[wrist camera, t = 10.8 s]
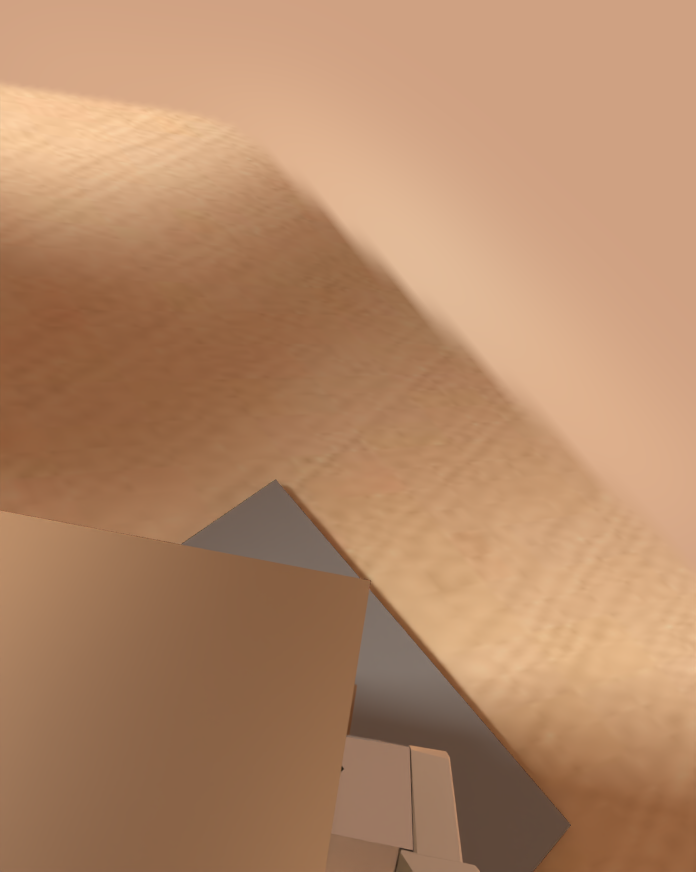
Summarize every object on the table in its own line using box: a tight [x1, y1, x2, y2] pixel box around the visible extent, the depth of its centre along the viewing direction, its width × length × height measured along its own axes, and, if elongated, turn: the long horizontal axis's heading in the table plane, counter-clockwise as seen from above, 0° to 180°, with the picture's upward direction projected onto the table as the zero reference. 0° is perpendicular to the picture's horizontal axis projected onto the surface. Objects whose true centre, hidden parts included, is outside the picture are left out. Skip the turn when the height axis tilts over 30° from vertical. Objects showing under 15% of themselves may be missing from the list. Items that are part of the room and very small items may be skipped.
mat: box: [181, 479, 571, 872], centre depth 15 cm, size 12×12×1 cm
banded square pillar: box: [0, 510, 371, 872], centre depth 8 cm, size 5×5×8 cm
